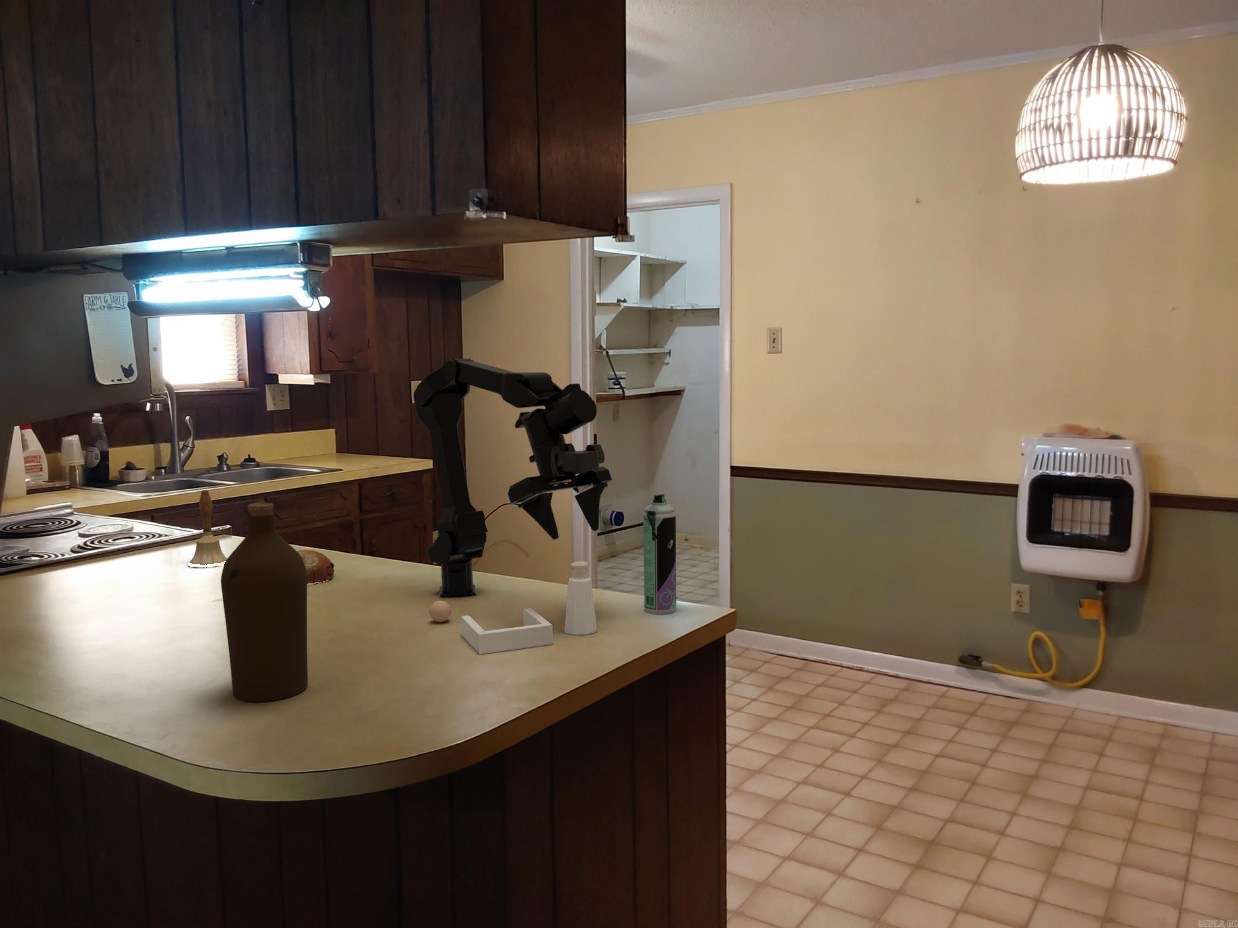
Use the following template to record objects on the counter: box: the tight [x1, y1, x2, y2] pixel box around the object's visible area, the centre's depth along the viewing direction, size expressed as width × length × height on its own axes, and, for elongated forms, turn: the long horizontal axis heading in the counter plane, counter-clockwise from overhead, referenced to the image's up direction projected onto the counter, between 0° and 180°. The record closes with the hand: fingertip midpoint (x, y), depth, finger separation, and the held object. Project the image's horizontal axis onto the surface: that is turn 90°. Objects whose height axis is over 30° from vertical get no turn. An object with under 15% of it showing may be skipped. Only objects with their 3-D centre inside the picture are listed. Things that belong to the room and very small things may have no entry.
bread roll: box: [296, 549, 335, 584], centre depth 189 cm, size 10×10×8 cm
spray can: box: [642, 493, 677, 615], centre depth 163 cm, size 6×6×20 cm
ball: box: [429, 600, 452, 623], centre depth 159 cm, size 4×4×4 cm
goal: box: [460, 607, 554, 655], centre depth 149 cm, size 11×11×3 cm
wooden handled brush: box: [189, 489, 228, 565], centre depth 204 cm, size 8×8×16 cm
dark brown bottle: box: [220, 501, 309, 703], centre depth 126 cm, size 11×11×25 cm
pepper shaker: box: [564, 561, 598, 636], centre depth 152 cm, size 5×5×11 cm
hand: (576, 534), depth 156 cm, fingers open, 9 cm apart
